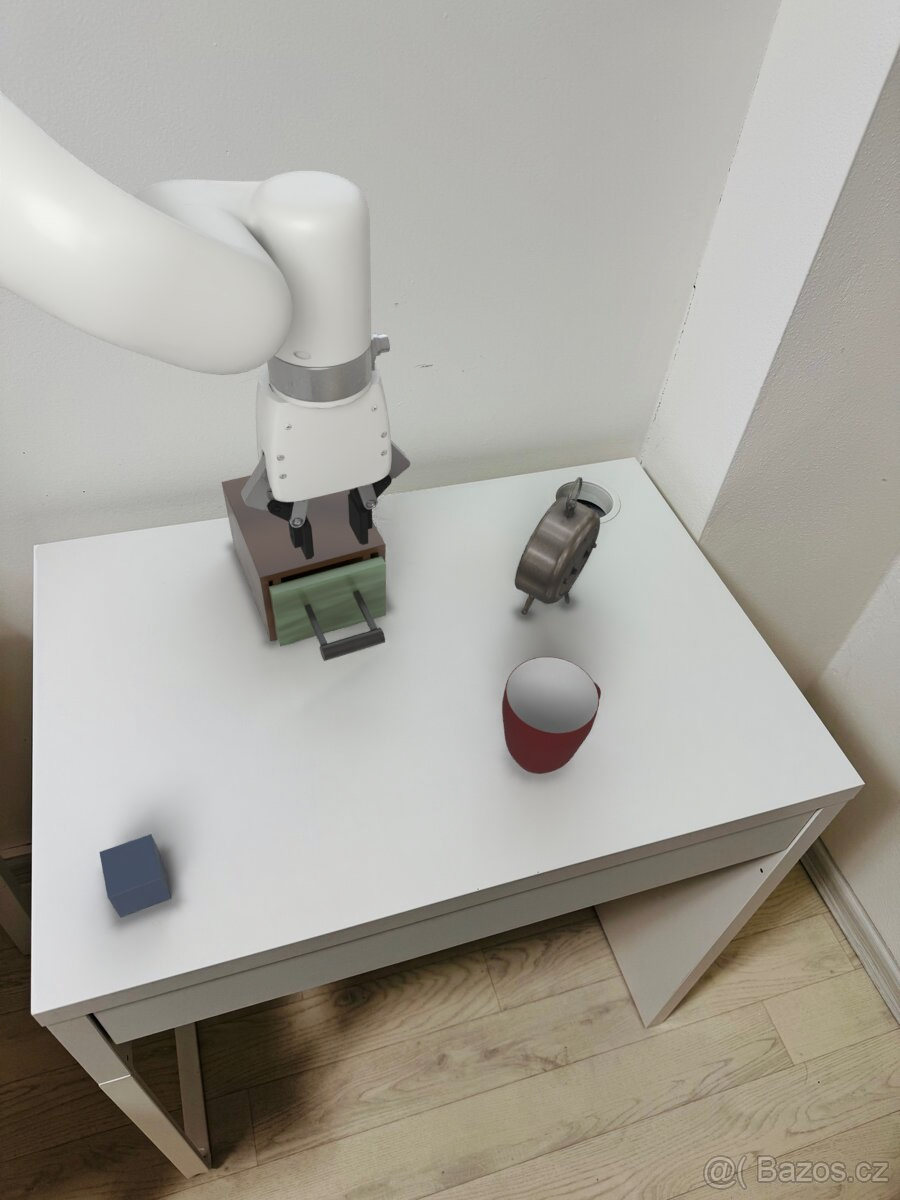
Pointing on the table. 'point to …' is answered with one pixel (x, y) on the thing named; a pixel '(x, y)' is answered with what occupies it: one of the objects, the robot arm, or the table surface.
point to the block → (134, 875)
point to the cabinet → (271, 548)
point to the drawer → (331, 604)
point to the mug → (548, 712)
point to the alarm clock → (557, 550)
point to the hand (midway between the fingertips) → (332, 539)
